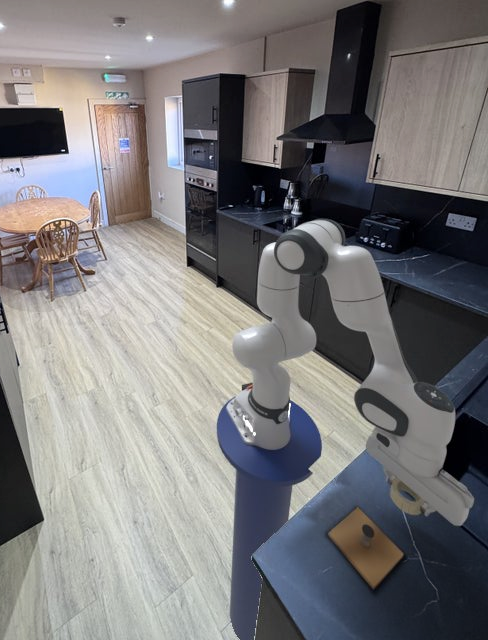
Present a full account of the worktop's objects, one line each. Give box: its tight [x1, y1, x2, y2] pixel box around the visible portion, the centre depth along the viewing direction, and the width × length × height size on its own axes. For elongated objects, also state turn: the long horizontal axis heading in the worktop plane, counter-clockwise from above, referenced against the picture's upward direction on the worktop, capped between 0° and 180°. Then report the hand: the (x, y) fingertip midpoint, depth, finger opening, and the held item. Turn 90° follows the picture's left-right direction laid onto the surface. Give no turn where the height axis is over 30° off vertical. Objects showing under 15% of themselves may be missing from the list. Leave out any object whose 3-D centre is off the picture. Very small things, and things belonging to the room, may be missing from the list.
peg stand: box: [327, 506, 404, 590], centre depth 72 cm, size 11×11×5 cm
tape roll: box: [389, 477, 426, 516], centre depth 75 cm, size 6×6×3 cm
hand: (406, 496), depth 75 cm, fingers closed on tape roll, 6 cm apart
